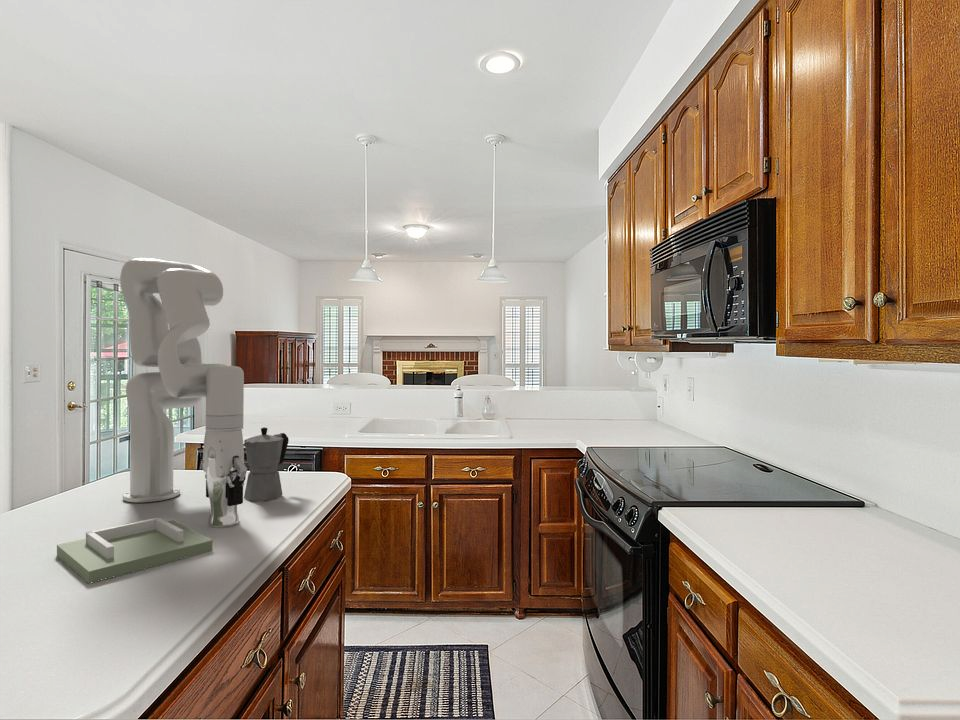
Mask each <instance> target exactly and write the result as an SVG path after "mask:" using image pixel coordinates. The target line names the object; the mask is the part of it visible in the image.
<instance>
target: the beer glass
mask: <svg viewBox="0 0 960 720" xmlns="http://www.w3.org/2000/svg"><path fill="white" fill-rule="evenodd" d="M215 463H216V461H215V458H210V457H209V456H208V463H207V479H206V480H207V488H208V494H209V498H208V499H209V504H210V512H209V513H210V514H209V519H208V527H210V528H212V529H213V528H214V529H224V528H231V527H234V526H236V525H238V524H239V522H240V518H239V514H238V505H234V506H228V505H227V487H230V486H229V484H228V481H227V478H226V476H225V477H224V478H219V477H217V476H216V467H215ZM232 472H236V469H235V466H234V465H233V463H232V468H231V470H230V473H232ZM234 478H235V477H232V479H233V480H234Z"/></svg>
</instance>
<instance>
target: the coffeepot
mask: <svg viewBox="0 0 960 720" xmlns="http://www.w3.org/2000/svg"><path fill="white" fill-rule="evenodd" d="M260 432H261V434H259V435H254V436H252V437H248V438H246V439H243V446H244V447H245V454H246V460H247V461H246V463H247V466H248V467H249V473H247V474H248V475H247V479H246V485H245V490H244V493H243V499H245V500H246V501H248V502H254V501H255V503H256V502H257V503H259V502H260V501H263V502H270V500H271V501H275V500H277V499H280V498H281V497H282V495H283V489H282V483H281V478H280V472H279V470H278V466H279V465H282V464H283V463H284V460H285V457H286V453H287V449H288V444H289V442H290V441H289V437H288V435H287V434H286V433H284V432H281V433H276V434H273V435H272V434H268V427H261V428H260ZM274 499H275V500H274ZM258 501H259V502H258ZM260 503H261V502H260Z"/></svg>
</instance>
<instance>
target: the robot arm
mask: <svg viewBox="0 0 960 720" xmlns="http://www.w3.org/2000/svg"><path fill="white" fill-rule="evenodd" d="M119 277H120V278H119V280H120V282H119V284H120V290H121V293H122V297H123V299H124V303H125V304H126V308H127V311H128V318H129V323H128V324H129V341H130V354H131V357H132V360H133V362H134V364H135V365H137V366H139V367H145V368H158V370H159V371H157V372H156V371H155V372H154V371H153V372H152V371H151V372H141V373H138V374H135V375H133V376H131V377H130V378H129V379H128V381H127V383H126V386H125V394H126V400H127V401H126V402H127V406H128V411H129V412H128V413H129V425H130V427H129V429H130V430H129V433H130V434H129V435H130V440H129V441H130V442H129V443H130V445H129V446H130V448H129V451H130V452H129V456H130V457H129V458H130V461H129V462H130V463H129V465H130V468H129V470H130V472H129V473H130V474H129V475H130V476H129V480H130V481H129V482H130V483H129V489H130V490H128V491H125V492H124V493H123V494H122V500H123V501H124V502H128V503H138V504H139V503H141V504H142V503H153V502H155V503H156V502H160V501H165V500H170V499H173V498H176V497H177V496H179V495H180V493H181V488H179V487H177V486H174V453H175V452H174V445H175V444H174V442H175V440H174V439H175V437H174V436H175V435H174V425H173V422H172V420H171V419H170V418H169V417H168V416H167V414H166V413H165V412H164V410H171V409H172V410H173V409H184V408H191V407H195V406H197V405H198V404H200V402H201V401H202V398H205V432H204V439H203V448H202V449H203V450H202V465H201V466H202V471H203V472H204V473H205V475H204V479H205V498H208V499H209V494H208V488H207V463H208V456H209V457H210V458H215V461H216V463H215V467H216V476H217V477H219V478H224V477H225V476H226V478H227V481H228V484H229V486H230V487H227V505H228V506H234V505H237V506H238V505H242V504H243V503H244V485H245V480H246V478H247V477H246V476H247V472H248V467H247V466H246V465H245V451H244V447H245V446H244V437H243V429H244V414H245V413H244V411H245V410H244V409H245V408H244V403H245V402H244V400H245V399H244V398H245V397H244V394H245V393H244V392H245V391H244V390H245V389H244V387H245V375H244V373H245V372H244V370H243V369H242V368H241V367H240V366H236V365H226V364H224V363H202V362H203V361H202V350H201V344H200V342H199V340H198V337H199V336H202V335H203V334H204V333H206V332H207V331H208V329H209V327H210V324H211V323H210V319H209V316H208V314H207V310H206V306H207V307H208V306H209V307H210V306H211V307H214V306H217V305H218V304H219V303H221V301H222V300H223V296H224V287H223V283H222V281H221V279H220V278H219V276H218V275H217V274H216V273H214V272H213V271H210V270H208V269H206V268H203V267H201V266H198V265H195V264H193V263H186V262H179V261H170V260H163V259H157V258H146V257H144V258H143V257H140V258H132V259H130V260H129V259H128V261H125V263H124V264H123V266H122V267H121V272H120V276H119ZM154 294H159V296H160V300H159V298H157V297H156V296H155V295H154ZM232 463H233V465H234V466H235V469H236V472H232V473H230V470H231V468H232ZM232 477H235V478H234V480H233V479H232Z"/></svg>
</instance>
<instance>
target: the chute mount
mask: <svg viewBox="0 0 960 720" xmlns="http://www.w3.org/2000/svg"><path fill="white" fill-rule="evenodd" d="M212 551H213V539H211V538H210V537H209V538H208V537H207V536H205V535H203V534H201V533H199V532H197V531H195V530H193V529H191V528H189V527H187V526H186V525H183V524H181V523H179V522H177V521H175V520H173V519H172V520H167V521H166V520H165V519H163V518H161V517H159V516H158V517H153V518H149V519H144V520H140V521H135V522H130V523H125V524H121V525H116V526H111V527H106V528H101V529H96V530H91V531H87V532H85V538H84V539H83V538H82V539H79V540H73V541H69V542H68V541H67V542H65V543H59V544H56V556H57V557H58V558H59V559H60V560H61V561H62V562H64V564H66V566H68V567H69V568H70V567H71V568H72V569H71V568H70V569H71V570H72V571H73V572H75V573H76V574H77V575H78V574H79V575H80V578H81V579H83V580H84V579H85V580H86V581H87V582H86V581H85V580H84V581H85V582H86V583H88V584H89V583H90V584H92V583H91V582H93V583H96V582H95V581H97V582H99V581H98V580H101V579H105V578H108V579H110V578H109V577H112V578H114V577H113V576H116V577H118V576H117V575H120V576H122V574H123V575H126V574H125V573H127V574H129V572H131V573H133V571H134V572H138V571H141V569H142V570H145V569H144V568H146V569H149V568H152V567H151V566H153V567H156V566H160V564H161V565H164V564H167V562H168V563H171V561H172V562H175V561H178V560H177V559H179V560H182V559H181V558H183V559H186V558H185V557H187V558H190V557H194V556H196V555H197V554H198V555H201V554H205V553H208V552H212ZM204 552H205V553H204ZM193 555H194V556H193ZM189 556H190V557H189ZM174 560H175V561H174ZM148 567H149V568H148ZM137 570H138V571H137ZM79 575H78V576H79ZM105 580H106V579H105ZM101 581H102V580H101Z"/></svg>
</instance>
